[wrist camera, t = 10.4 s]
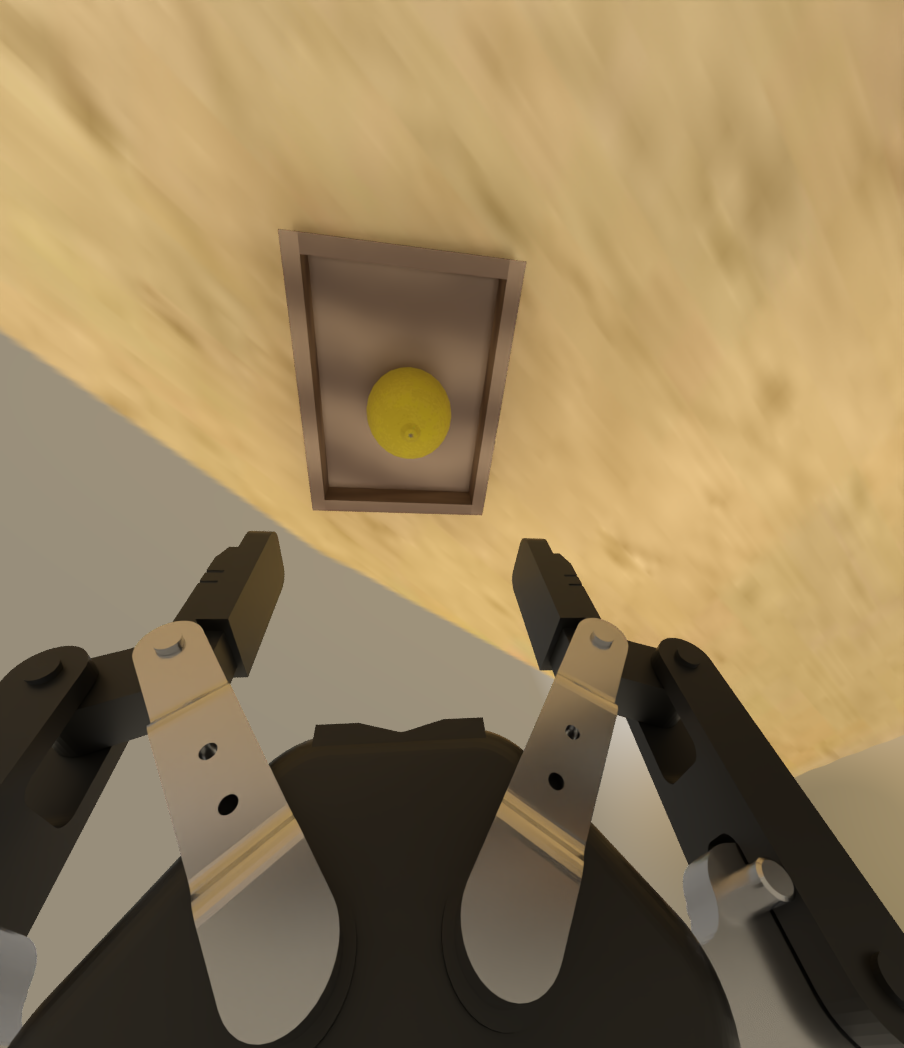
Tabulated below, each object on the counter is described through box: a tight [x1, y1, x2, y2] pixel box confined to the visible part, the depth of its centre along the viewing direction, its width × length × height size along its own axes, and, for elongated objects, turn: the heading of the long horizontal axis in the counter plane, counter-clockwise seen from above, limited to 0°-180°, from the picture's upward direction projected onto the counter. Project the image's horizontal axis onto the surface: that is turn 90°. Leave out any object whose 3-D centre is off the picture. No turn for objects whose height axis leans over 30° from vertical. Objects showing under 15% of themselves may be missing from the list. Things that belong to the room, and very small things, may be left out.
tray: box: [278, 229, 526, 515], centre depth 27 cm, size 18×14×3 cm
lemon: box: [366, 367, 451, 459], centre depth 25 cm, size 6×6×8 cm
